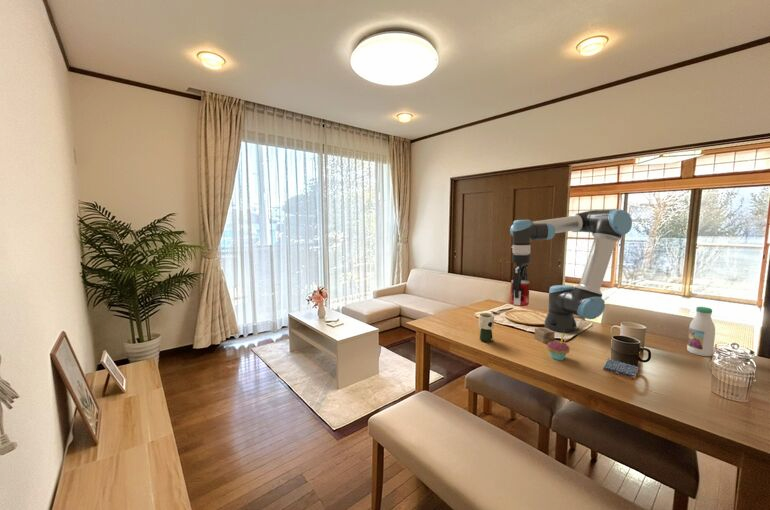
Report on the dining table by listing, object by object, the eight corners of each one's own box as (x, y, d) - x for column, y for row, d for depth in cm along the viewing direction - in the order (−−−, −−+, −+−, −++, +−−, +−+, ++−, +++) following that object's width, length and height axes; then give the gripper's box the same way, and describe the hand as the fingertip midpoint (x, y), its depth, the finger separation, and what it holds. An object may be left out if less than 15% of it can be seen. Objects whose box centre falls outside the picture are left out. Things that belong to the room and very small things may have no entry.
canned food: (525, 301, 143) (525, 278, 142) (531, 306, 135) (532, 282, 134) (508, 301, 144) (509, 279, 142) (514, 306, 136) (514, 282, 134)
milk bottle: (704, 349, 132) (709, 306, 129) (717, 357, 125) (722, 311, 122) (682, 347, 135) (687, 304, 132) (693, 355, 127) (698, 310, 125)
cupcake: (567, 355, 131) (568, 328, 130) (570, 364, 124) (571, 336, 122) (545, 352, 135) (546, 326, 133) (546, 360, 127) (547, 333, 126)
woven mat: (639, 370, 118) (639, 365, 118) (635, 381, 111) (635, 376, 110) (606, 361, 125) (606, 357, 125) (601, 371, 118) (601, 366, 118)
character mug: (487, 345, 143) (488, 319, 141) (474, 341, 148) (474, 316, 146) (497, 338, 151) (498, 313, 149) (484, 334, 156) (484, 310, 154)
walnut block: (545, 337, 151) (545, 327, 150) (554, 341, 145) (554, 331, 145) (534, 338, 150) (534, 328, 149) (543, 343, 144) (543, 333, 143)
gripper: (519, 250, 147) (517, 296, 150) (505, 256, 131) (504, 306, 134) (535, 251, 142) (534, 298, 145) (523, 257, 126) (522, 309, 129)
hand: (519, 302), depth 139 cm, fingers closed on canned food, 8 cm apart
